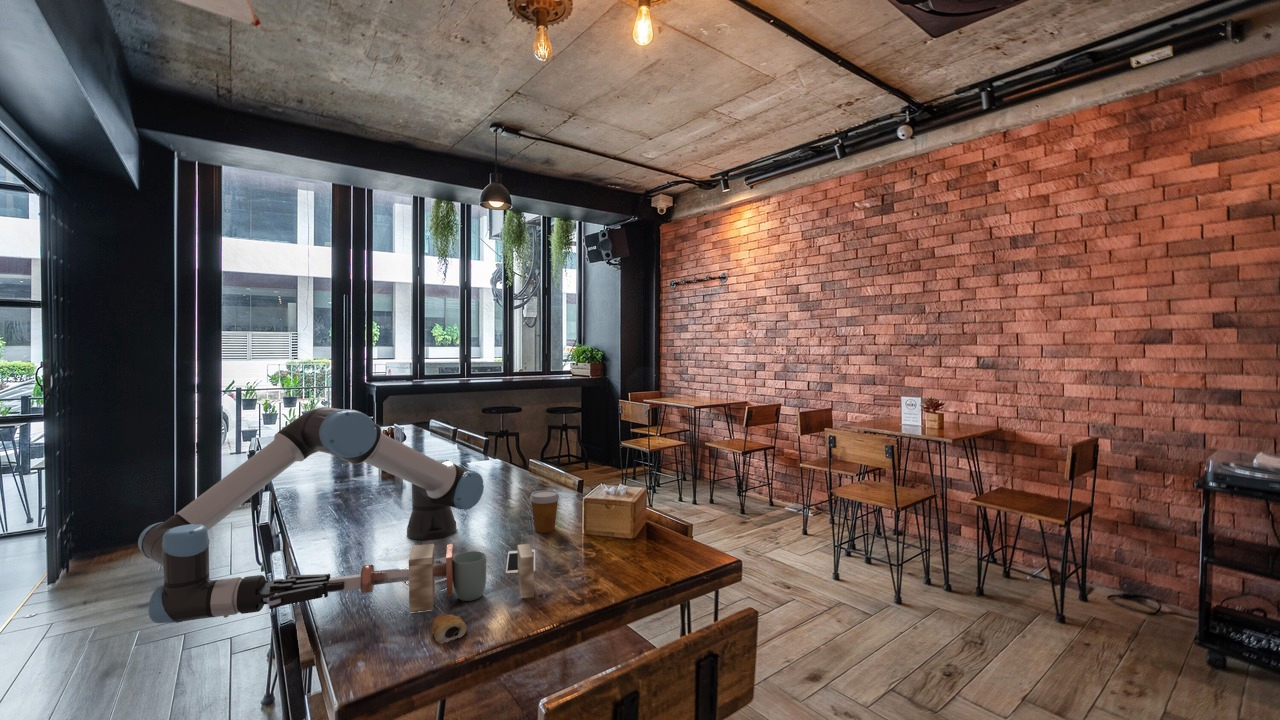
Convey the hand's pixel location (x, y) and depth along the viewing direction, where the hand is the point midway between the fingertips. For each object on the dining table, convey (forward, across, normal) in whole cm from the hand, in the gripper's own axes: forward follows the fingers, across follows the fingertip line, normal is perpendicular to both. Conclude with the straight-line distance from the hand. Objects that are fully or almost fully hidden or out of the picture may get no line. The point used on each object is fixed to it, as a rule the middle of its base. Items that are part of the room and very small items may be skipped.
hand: (361, 581), depth 130 cm
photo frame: (+15, -20, -8) cm, 26 cm away
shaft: (+10, -1, -4) cm, 11 cm away
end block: (+37, -1, -7) cm, 38 cm away
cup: (+24, -1, -8) cm, 25 cm away
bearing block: (+13, -1, -7) cm, 15 cm away
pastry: (+19, +16, -8) cm, 26 cm away
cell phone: (+38, -20, -8) cm, 43 cm away
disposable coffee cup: (+48, -45, -8) cm, 66 cm away
